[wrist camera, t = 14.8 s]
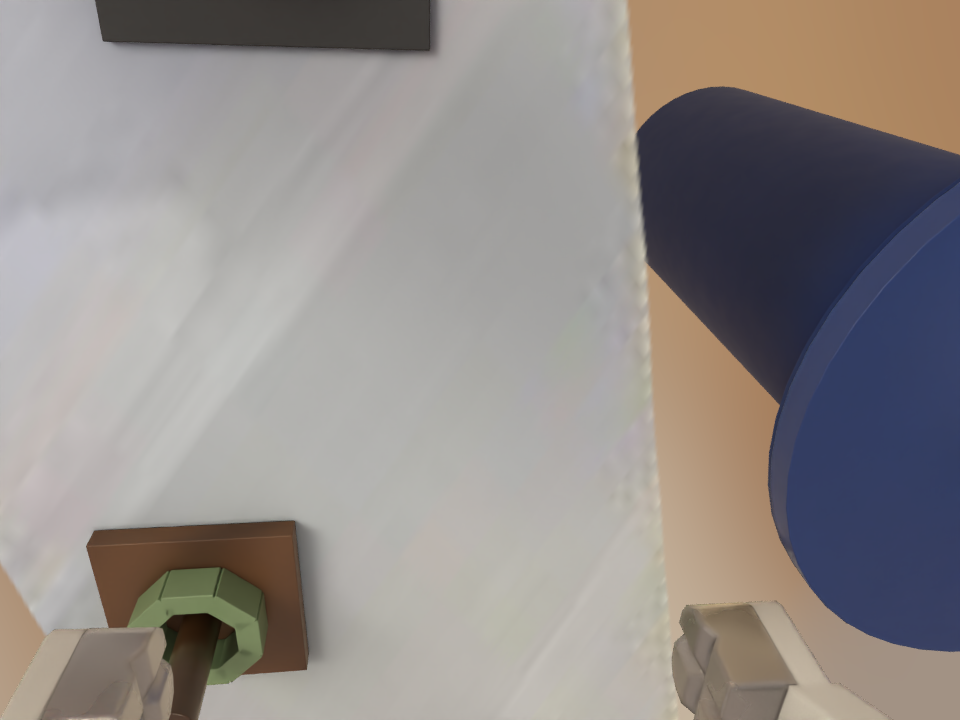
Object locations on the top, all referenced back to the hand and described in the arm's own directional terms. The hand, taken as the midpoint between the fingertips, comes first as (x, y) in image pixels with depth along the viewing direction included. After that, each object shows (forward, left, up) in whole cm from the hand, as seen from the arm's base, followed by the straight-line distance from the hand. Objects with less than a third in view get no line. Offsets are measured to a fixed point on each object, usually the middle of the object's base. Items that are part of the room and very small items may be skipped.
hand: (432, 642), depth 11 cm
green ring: (+11, +21, -22) cm, 32 cm away
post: (+11, +21, -23) cm, 33 cm away
